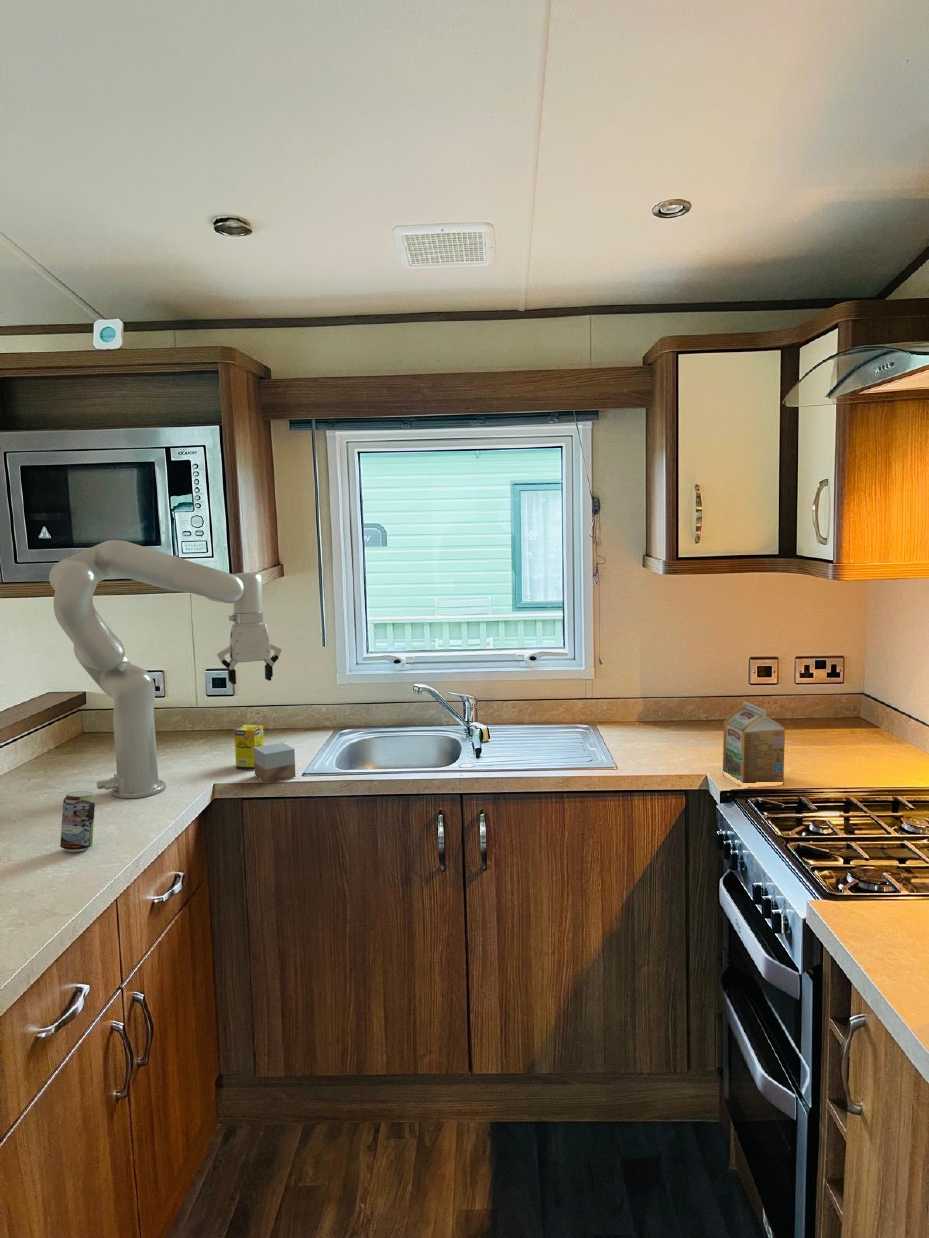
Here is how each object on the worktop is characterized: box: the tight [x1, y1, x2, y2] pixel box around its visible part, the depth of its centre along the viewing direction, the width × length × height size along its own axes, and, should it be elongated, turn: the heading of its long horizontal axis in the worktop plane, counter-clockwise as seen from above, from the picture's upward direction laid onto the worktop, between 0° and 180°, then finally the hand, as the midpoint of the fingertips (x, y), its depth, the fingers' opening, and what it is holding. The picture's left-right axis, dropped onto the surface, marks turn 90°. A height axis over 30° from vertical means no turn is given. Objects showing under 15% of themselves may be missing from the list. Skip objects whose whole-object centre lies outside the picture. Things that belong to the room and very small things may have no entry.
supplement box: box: [234, 724, 265, 770], centre depth 230 cm, size 6×6×11 cm
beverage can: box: [59, 790, 96, 853], centre depth 174 cm, size 6×7×12 cm
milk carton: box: [722, 701, 786, 783], centre depth 210 cm, size 10×11×19 cm
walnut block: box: [254, 763, 296, 785], centre depth 221 cm, size 8×8×4 cm
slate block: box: [254, 742, 296, 770], centre depth 221 cm, size 8×8×4 cm
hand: (250, 681), depth 228 cm, fingers open, 9 cm apart
